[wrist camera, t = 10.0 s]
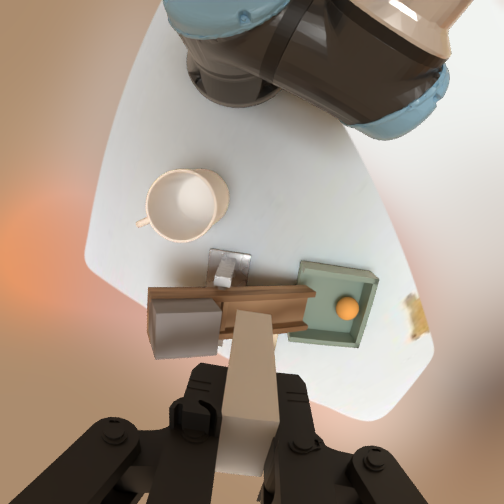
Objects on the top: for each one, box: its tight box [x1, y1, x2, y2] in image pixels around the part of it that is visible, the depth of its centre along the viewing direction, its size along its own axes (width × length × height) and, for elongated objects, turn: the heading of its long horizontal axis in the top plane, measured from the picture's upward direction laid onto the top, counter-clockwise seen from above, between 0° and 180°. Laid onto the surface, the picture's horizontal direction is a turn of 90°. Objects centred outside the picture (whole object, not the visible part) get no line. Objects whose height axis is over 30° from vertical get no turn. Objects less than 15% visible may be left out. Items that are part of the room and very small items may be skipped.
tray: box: [287, 260, 379, 348], centre depth 46 cm, size 12×11×4 cm
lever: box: [147, 285, 316, 360], centre depth 38 cm, size 13×22×6 cm, turn 81°
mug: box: [136, 169, 229, 243], centre depth 39 cm, size 12×8×12 cm
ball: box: [336, 297, 359, 320], centre depth 45 cm, size 4×4×4 cm
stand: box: [206, 249, 251, 346], centre depth 43 cm, size 11×6×10 cm, turn 171°
